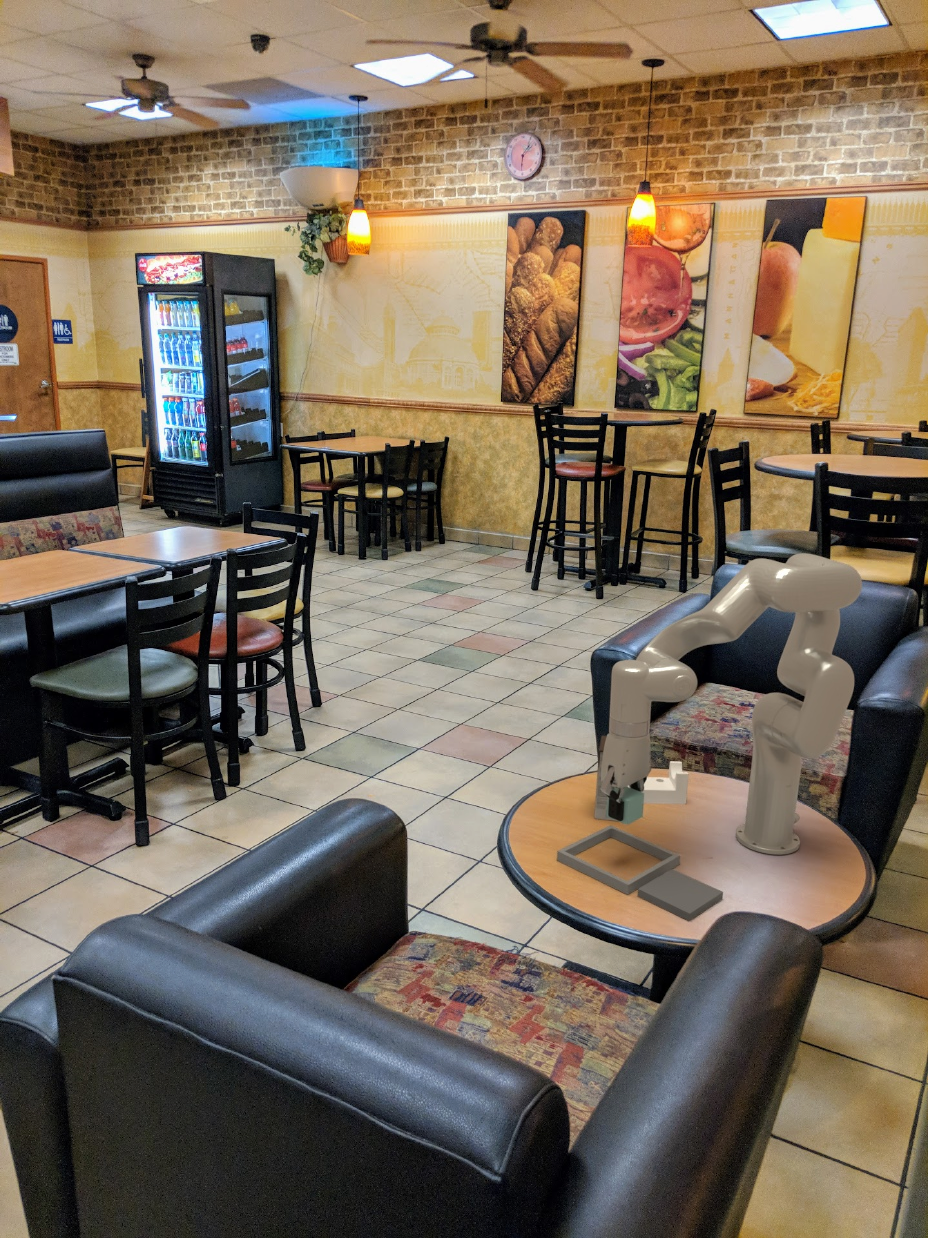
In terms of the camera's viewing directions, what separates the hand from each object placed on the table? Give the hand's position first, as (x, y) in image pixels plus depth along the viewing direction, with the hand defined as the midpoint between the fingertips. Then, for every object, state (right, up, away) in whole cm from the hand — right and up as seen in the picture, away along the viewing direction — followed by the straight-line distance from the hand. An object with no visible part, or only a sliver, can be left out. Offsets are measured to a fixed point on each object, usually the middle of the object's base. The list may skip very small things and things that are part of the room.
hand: (624, 813), depth 183 cm
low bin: (-1, -10, +2) cm, 10 cm away
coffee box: (+1, -5, +24) cm, 25 cm away
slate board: (+8, -13, -10) cm, 19 cm away
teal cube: (0, -1, 0) cm, 1 cm away
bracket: (+12, -3, +33) cm, 35 cm away
